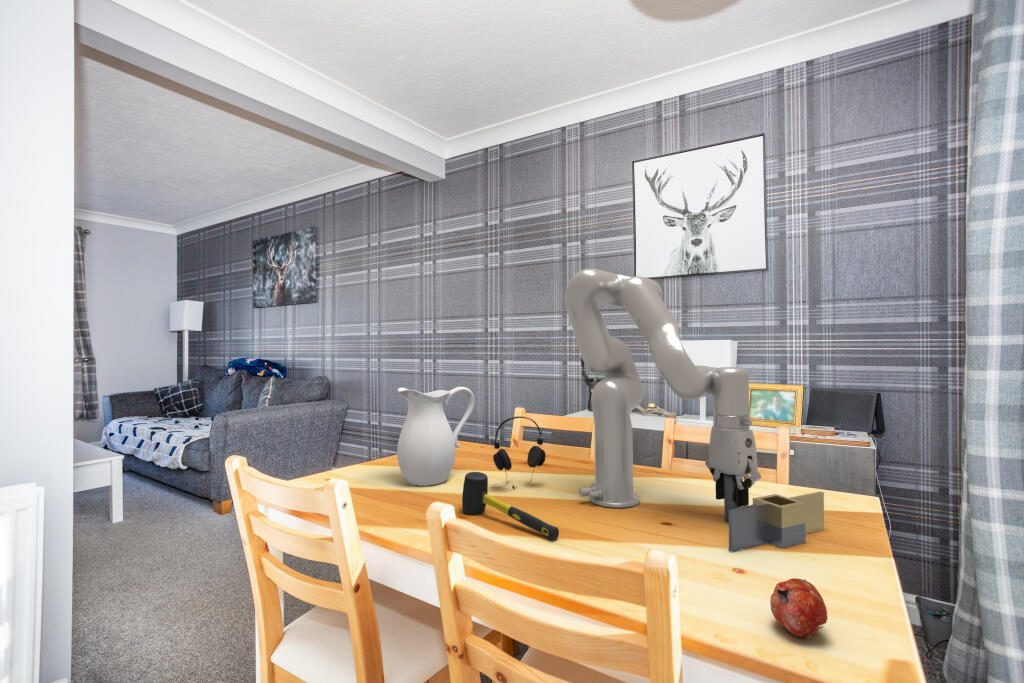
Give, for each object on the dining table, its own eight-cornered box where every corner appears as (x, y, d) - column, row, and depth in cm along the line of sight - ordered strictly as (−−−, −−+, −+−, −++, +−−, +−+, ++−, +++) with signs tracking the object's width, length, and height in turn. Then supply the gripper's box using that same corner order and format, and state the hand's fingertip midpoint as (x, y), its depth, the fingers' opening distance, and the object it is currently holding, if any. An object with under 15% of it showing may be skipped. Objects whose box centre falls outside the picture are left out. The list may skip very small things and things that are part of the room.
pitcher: (404, 492, 142) (402, 391, 142) (392, 477, 158) (391, 386, 157) (485, 481, 152) (484, 386, 152) (467, 468, 167) (466, 382, 167)
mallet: (566, 537, 109) (565, 492, 109) (547, 546, 105) (546, 498, 105) (475, 507, 130) (475, 468, 130) (457, 512, 125) (456, 473, 125)
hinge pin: (732, 525, 114) (732, 471, 114) (717, 519, 118) (716, 467, 118) (747, 522, 116) (746, 469, 116) (731, 516, 120) (730, 464, 120)
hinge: (744, 558, 97) (744, 515, 97) (717, 545, 103) (716, 505, 103) (837, 534, 108) (837, 496, 108) (807, 523, 114) (807, 487, 114)
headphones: (533, 478, 154) (532, 411, 154) (549, 488, 144) (548, 416, 144) (485, 484, 149) (484, 414, 149) (497, 494, 139) (497, 420, 138)
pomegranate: (793, 628, 78) (744, 592, 77) (824, 591, 77) (775, 554, 76) (825, 664, 70) (771, 625, 69) (860, 623, 70) (806, 583, 69)
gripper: (775, 426, 110) (776, 511, 110) (714, 415, 126) (715, 490, 126) (750, 429, 107) (751, 516, 107) (690, 418, 123) (691, 494, 123)
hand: (731, 501), depth 117 cm, fingers open, 5 cm apart
